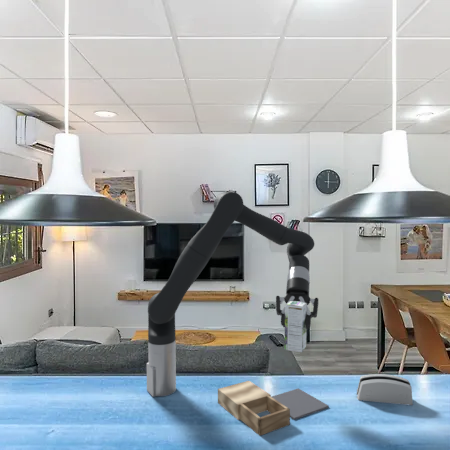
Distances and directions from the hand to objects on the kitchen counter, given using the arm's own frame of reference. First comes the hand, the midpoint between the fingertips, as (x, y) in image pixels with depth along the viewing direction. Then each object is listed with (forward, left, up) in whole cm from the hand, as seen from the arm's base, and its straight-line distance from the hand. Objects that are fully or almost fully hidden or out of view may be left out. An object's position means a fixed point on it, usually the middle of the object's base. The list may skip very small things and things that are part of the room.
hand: (295, 326), depth 118 cm
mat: (+1, +1, -25) cm, 25 cm away
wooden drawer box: (-14, +4, -25) cm, 29 cm away
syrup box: (+1, +1, -8) cm, 8 cm away
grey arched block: (+27, -12, -25) cm, 39 cm away
